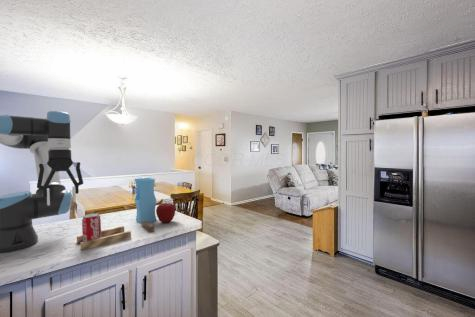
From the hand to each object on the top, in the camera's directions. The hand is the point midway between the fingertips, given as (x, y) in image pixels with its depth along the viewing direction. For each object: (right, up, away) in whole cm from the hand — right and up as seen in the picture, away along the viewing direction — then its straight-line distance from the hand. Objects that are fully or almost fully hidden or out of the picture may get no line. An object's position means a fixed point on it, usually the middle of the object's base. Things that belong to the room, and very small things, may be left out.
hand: (61, 203), depth 95 cm
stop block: (+26, -19, +25) cm, 41 cm away
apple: (+32, -19, +37) cm, 53 cm away
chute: (+11, -20, +11) cm, 25 cm away
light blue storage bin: (+19, -19, +42) cm, 49 cm away
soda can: (+8, -20, +8) cm, 23 cm away
